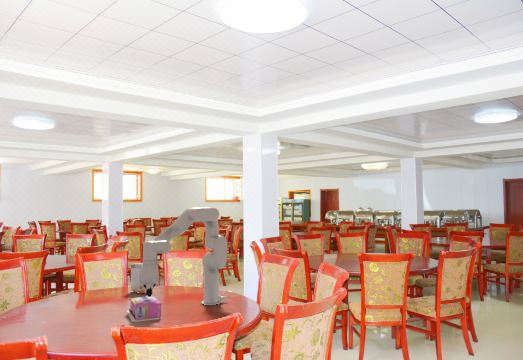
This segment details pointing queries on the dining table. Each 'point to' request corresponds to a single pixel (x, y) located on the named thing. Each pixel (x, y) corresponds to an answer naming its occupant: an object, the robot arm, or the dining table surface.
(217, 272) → the robot arm
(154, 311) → the gum box
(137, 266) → the cracker box
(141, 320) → the mat
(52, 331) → the dining table surface
